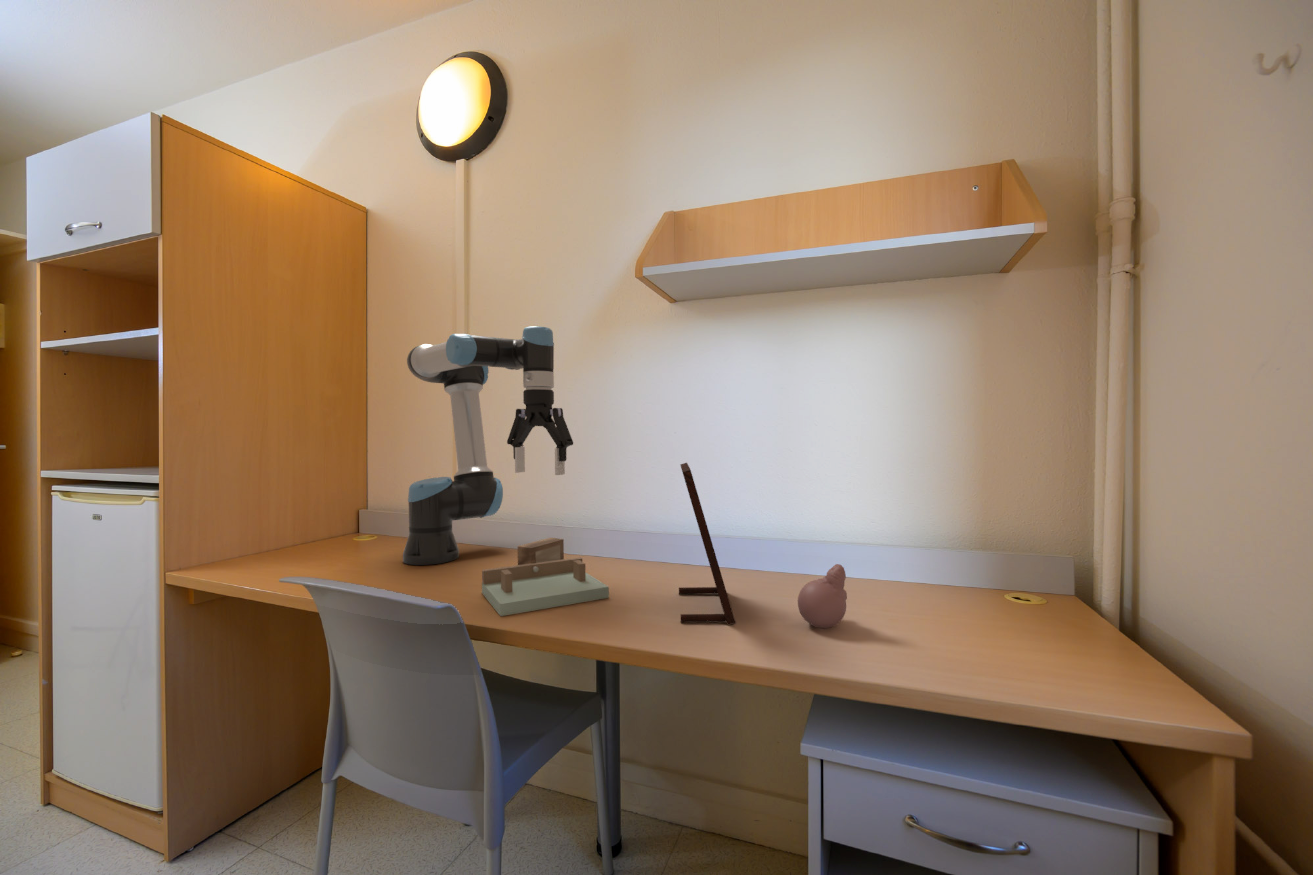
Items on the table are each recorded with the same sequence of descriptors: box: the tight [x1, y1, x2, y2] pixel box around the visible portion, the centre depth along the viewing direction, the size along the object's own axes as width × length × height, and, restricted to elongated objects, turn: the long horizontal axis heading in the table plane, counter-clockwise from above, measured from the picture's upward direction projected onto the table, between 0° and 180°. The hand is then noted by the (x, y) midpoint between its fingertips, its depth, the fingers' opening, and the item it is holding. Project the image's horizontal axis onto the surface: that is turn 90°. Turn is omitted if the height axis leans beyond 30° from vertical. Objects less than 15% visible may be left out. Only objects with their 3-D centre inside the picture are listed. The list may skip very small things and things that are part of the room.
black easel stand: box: [678, 462, 736, 626], centre depth 117 cm, size 21×11×30 cm, turn 179°
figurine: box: [797, 563, 848, 629], centre depth 107 cm, size 9×11×12 cm
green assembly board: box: [481, 556, 610, 617], centre depth 127 cm, size 18×24×6 cm
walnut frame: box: [517, 537, 565, 565], centre depth 142 cm, size 5×12×9 cm, turn 149°
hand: (539, 473), depth 141 cm, fingers open, 13 cm apart
